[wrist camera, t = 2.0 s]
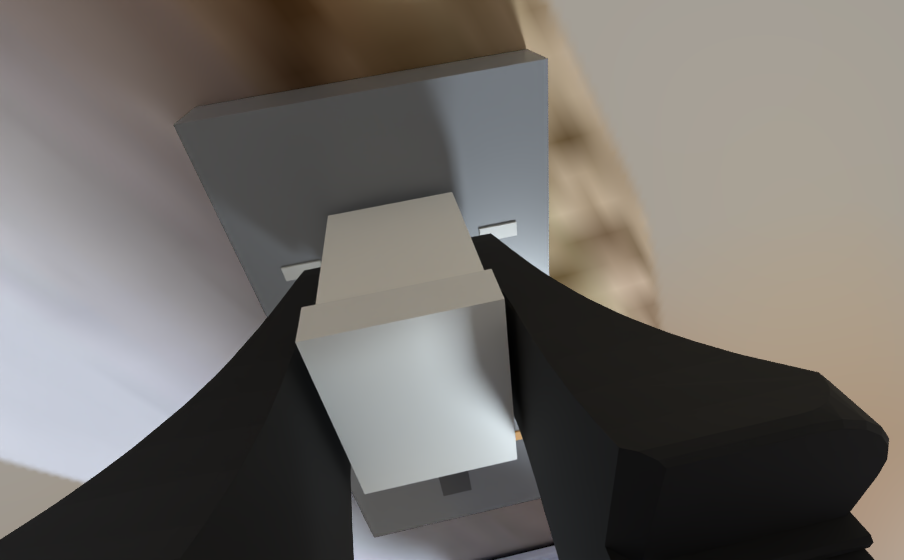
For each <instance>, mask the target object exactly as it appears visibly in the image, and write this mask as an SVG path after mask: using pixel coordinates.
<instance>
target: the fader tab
mask: <svg viewBox="0 0 904 560" xmlns="http://www.w3.org/2000/svg"><path fill="white" fill-rule="evenodd" d="M295 343H296V345H297V347H298V349H299V352H300V354H301V356H302V358H303V360H304V363H305V365H306V367H307V369H308V371H309V374H310V376H311V378H312V380H313V382H314V384H315V387H316V389H317V391H318V393H319V395H320V398H321V400H322V402H323V404H324V406H325V408H326V411H327V413H328V415H329V417H330V419H331V422H332V424H333V426H334V428H335V430H336V433H337V435H338V437H339V439H340V441H341V443H342V446H343V448H344V450H345V452H346V454H347V457H348V459H349V461H350V463H351V465H352V467H353V470H354V472H355V474H356V476H357V478H358V481H359V483H360V485H361V487H362V489H363V492H364V494H368V493H373V492H377V491H381V490H386V489H390V488H394V487H399V486H403V485H407V484H412V483H416V482H420V481H425V480H429V479H434V478H438V477H442V476H447V475H451V474H455V473H460V472H464V471H468V470H473V469H477V468H481V467H486V466H490V465H494V464H499V463H503V462H508V461H512V460H516V459H517V450H516V438H515V425H514V413H513V400H512V387H511V375H510V362H509V349H508V337H507V324H506V312H505V299H504V297H503V294H502V292H501V290H500V287H499V285H498V283H497V280H496V278H495V276H494V274H493V271H492V269H488V270H484V269H483V266H482V264H481V261H480V259H479V256H478V254H477V251H476V249H475V247H474V244H473V242H472V239H471V237H470V234H469V232H468V229H467V227H466V225H465V222H464V220H463V217H462V215H461V212H460V210H459V207H458V205H457V202H456V200H455V198H454V195H453V193H452V192H449V193H444V194H438V195H433V196H428V197H423V198H418V199H412V200H407V201H402V202H397V203H391V204H386V205H381V206H376V207H371V208H365V209H360V210H355V211H350V212H345V213H339V214H334V215H329V216H328V219H327V226H326V234H325V241H324V248H323V255H322V262H321V269H320V276H319V283H318V290H317V297H316V304H315V305H311V306H306V307H302V308H301V313H300V319H299V324H298V330H297V335H296V341H295Z"/></svg>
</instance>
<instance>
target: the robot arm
mask: <svg viewBox="0 0 904 560" xmlns="http://www.w3.org/2000/svg"><path fill="white" fill-rule="evenodd" d="M471 239H472V242H473V244H474V247H475V249H476V251H477V254H478V256H479V259H480V261H481V264H482V266H483V269H484V270H488V269H492V271H493V274H494V276H495V278H496V280H497V283H498V285H499V287H500V290H501V292H502V294H503V297H504V299H505V312H506V324H507V337H508V349H509V362H510V375H511V387H512V400H513V413H514V417H515V420H516V422H517V425H518V428H519V430H520V433H521V436H522V438H523V441H524V445H525V448H526V451H527V454H528V458H529V461H530V464H531V467H532V471H533V474H534V477H535V480H536V484H537V487H538V490H539V494H540V497H541V501H542V504H543V507H544V511H545V514H546V517H547V521H548V524H549V527H550V531H551V534H552V538H553V541H554V546H550V547H546V548H542V549H537V550H533V551H529V552H525V553H521V554H517V555H513V556H509V557H504V558H500V559H496V560H874V559H873V558H872V556H871V555H870V554H869V553H868V552H867V551H866V550H865V548H868V547H870V546H871V545H872V543H873V540H872V538H871V535H870V534H869V532H868V531H867V530H866V529H865V528H864V527H863V526H862V525H861V524H860V523H859V521H858V520H857V519H856V518H855V517H854V516H853V515H852V514H851V512H850V511H851V510H852V508H853V507H854V506H855V504H856V503H857V502H858V500H859V499H860V498H861V497H862V495H863V494H864V493H865V491H866V490H867V489H868V488H869V486H870V485H871V484H872V482H873V481H874V480H875V478H876V477H877V476H878V474H879V473H880V471H881V469H882V467H883V466H884V464H885V462H886V460H887V455H888V444H889V443H888V442H889V438H888V436H887V434H886V433H885V431H884V430H883V428H882V427H881V426H880V425H879V424H878V423H876V422H875V421H874V420H873V419H872V418H871V417H870V416H869V415H867V414H866V413H865V412H864V411H863V410H862V409H861V408H859V407H858V406H857V405H856V404H855V403H854V402H853V401H851V400H850V399H849V398H848V397H847V396H846V395H844V394H843V393H842V392H841V391H840V390H839V389H838V388H836V387H835V386H834V385H833V384H832V383H831V382H830V381H828V380H827V379H826V378H825V377H824V376H822V375H821V374H820V373H819V372H814V371H810V370H806V369H801V368H797V367H792V366H788V365H784V364H779V363H775V362H771V361H766V360H762V359H757V358H753V357H749V356H744V355H740V354H737V353H733V352H729V351H726V350H723V349H719V348H715V347H712V346H709V345H705V344H702V343H698V342H695V341H692V340H689V339H686V338H683V337H680V336H677V335H673V334H671V333H668V332H665V331H662V330H660V329H657V328H655V327H652V326H649V325H647V324H644V323H641V322H639V321H636V320H634V319H631V318H629V317H626V316H624V315H622V314H619V313H617V312H615V311H613V310H611V309H609V308H607V307H604V306H602V305H600V304H598V303H596V302H594V301H592V300H590V299H588V298H586V297H584V296H582V295H580V294H579V293H577V292H575V291H573V290H572V289H570V288H568V287H566V286H565V285H563V284H561V283H560V282H558V281H556V280H555V279H553V278H551V277H550V276H548V275H547V274H545V273H544V272H542V271H541V270H540V269H538V268H537V267H535V266H534V265H532V264H531V263H529V262H528V261H527V260H525V259H524V258H523V257H521V256H520V255H519V254H517V253H516V252H515V251H513V250H512V249H511V248H509V247H508V246H507V245H506V244H504V243H503V242H502V241H500V240H499V239H498V238H496V237H495V236H494V235H492V234H491V233H490V234H484V235H479V236H474V237H471ZM320 269H321V267H318V268H313V269H308V270H304V271H303V272H302V274H301V275H300V276H299V277H298V278H297V280H296V281H295V282H294V284H293V285H292V286H291V288H290V289H289V290H288V292H287V293H286V294H285V296H284V297H283V298H282V299H281V301H280V302H279V303H278V305H277V306H276V307H275V308H274V310H273V311H272V312H271V313H270V315H269V316H268V317H267V318H266V320H265V321H264V322H263V324H262V325H261V326H260V327H259V328H258V330H257V331H256V332H255V333H254V334H253V335H252V336H251V337H250V339H249V340H248V341H247V342H246V343H245V344H244V345H243V347H242V348H241V349H240V350H239V351H238V352H237V353H236V355H235V356H234V357H233V358H232V359H231V360H230V361H229V362H228V363H227V364H226V365H225V366H224V368H223V369H222V370H221V371H220V372H219V373H218V374H217V375H216V376H215V377H214V378H213V379H212V380H211V381H210V382H208V383H207V384H206V385H205V386H204V387H203V388H202V389H201V390H200V391H199V392H198V393H197V394H196V395H195V396H194V397H193V398H192V399H190V400H189V401H188V402H187V403H186V404H185V405H184V406H183V407H182V408H180V409H179V410H178V411H177V412H176V413H174V414H173V415H172V416H171V417H170V418H168V419H167V420H166V421H165V422H163V423H162V424H161V425H160V426H159V427H157V428H156V429H155V430H154V431H153V432H151V433H150V434H149V435H148V436H147V437H145V438H144V439H143V440H142V441H141V442H139V443H138V444H137V445H136V446H134V447H133V448H132V449H131V450H129V451H128V452H127V453H125V454H124V455H123V456H121V457H120V458H119V459H117V460H116V461H115V462H113V463H112V464H111V465H109V466H108V467H107V468H105V469H104V470H103V471H101V472H100V473H99V474H97V475H96V476H94V477H93V478H91V479H90V480H89V481H87V482H86V483H84V484H83V485H82V486H80V487H79V488H77V489H76V490H75V491H73V492H72V493H70V494H69V495H68V496H66V497H65V498H63V499H62V500H60V501H59V502H57V503H56V504H54V505H53V506H51V507H50V508H48V509H47V510H45V511H44V512H42V513H41V514H39V515H38V516H36V517H35V518H33V519H31V520H30V521H29V522H27V523H25V524H24V525H22V526H21V527H19V528H18V529H16V530H14V531H13V532H11V533H10V534H8V535H7V536H5V537H4V538H2V539H0V560H354V554H353V533H352V506H351V463H350V461H349V459H348V457H347V454H346V452H345V450H344V448H343V446H342V443H341V441H340V439H339V437H338V435H337V433H336V430H335V428H334V426H333V424H332V422H331V419H330V417H329V415H328V413H327V411H326V408H325V406H324V404H323V402H322V400H321V398H320V395H319V393H318V391H317V389H316V387H315V384H314V382H313V380H312V378H311V376H310V374H309V371H308V369H307V367H306V365H305V363H304V360H303V358H302V356H301V354H300V352H299V349H298V347H297V345H296V343H295V341H296V335H297V330H298V324H299V319H300V313H301V308H302V307H306V306H311V305H315V304H316V297H317V290H318V283H319V276H320Z"/></svg>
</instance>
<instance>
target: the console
mask: <svg viewBox="0 0 904 560" xmlns="http://www.w3.org/2000/svg"><path fill="white" fill-rule="evenodd" d="M174 127H175V129H176V131H177V133H178V135H179V137H180V139H181V142H182V144H183V146H184V148H185V150H186V152H187V154H188V156H189V158H190V160H191V162H192V164H193V166H194V168H195V170H196V172H197V174H198V176H199V179H200V181H201V183H202V185H203V187H204V189H205V191H206V193H207V195H208V197H209V199H210V201H211V203H212V205H213V207H214V209H215V211H216V213H217V216H218V218H219V220H220V222H221V224H222V226H223V228H224V230H225V232H226V234H227V236H228V238H229V240H230V242H231V244H232V246H233V248H234V251H235V253H236V255H237V257H238V259H239V261H240V263H241V265H242V267H243V269H244V271H245V273H246V275H247V277H248V279H249V281H250V283H251V285H252V288H253V290H254V292H255V294H256V296H257V298H258V300H259V302H260V304H261V306H262V308H263V310H264V312H265V314H266V316H267V317H268V316H269V315H270V313H271V312H272V311H273V310H274V308H275V307H276V306H277V305H278V303H279V302H280V301H281V299H282V298H283V297H284V296H285V294H286V293H287V292H288V290H289V289H290V288H291V286H292V285H293V284H294V282H295V281H296V280H297V278H298V277H299V276H300V275H301V274H302V272H303V271H304V270H308V269H313V268H318V267H321V262H322V255H323V248H324V241H325V234H326V226H327V219H328V216H329V215H334V214H339V213H345V212H350V211H355V210H360V209H365V208H371V207H376V206H381V205H386V204H391V203H397V202H402V201H407V200H412V199H418V198H423V197H428V196H433V195H438V194H444V193H449V192H452V193H453V195H454V198H455V200H456V202H457V205H458V207H459V210H460V212H461V215H462V217H463V220H464V222H465V225H466V227H467V229H468V232H469V234H470V237H474V236H479V235H484V234H490V233H491V234H492V235H494V236H495V237H496V238H498V239H499V240H500V241H502V242H503V243H504V244H506V245H507V246H508V247H509V248H511V249H512V250H513V251H515V252H516V253H517V254H519V255H520V256H521V257H523V258H524V259H525V260H527V261H528V262H529V263H531V264H532V265H534V266H535V267H537V268H538V269H540V270H541V271H542V272H544V273H545V274H547V275H548V276H549V188H548V59H547V58H545V57H543V56H541V55H539V54H537V53H535V52H532V51H530V50H528V49H524V50H519V51H513V52H507V53H502V54H496V55H490V56H484V57H479V58H473V59H467V60H462V61H456V62H450V63H444V64H439V65H433V66H427V67H421V68H416V69H410V70H404V71H399V72H393V73H387V74H381V75H376V76H370V77H364V78H359V79H353V80H347V81H341V82H336V83H330V84H324V85H319V86H313V87H307V88H301V89H296V90H290V91H284V92H278V93H273V94H267V95H261V96H256V97H250V98H244V99H238V100H233V101H227V102H221V103H216V104H210V105H204V106H198V107H195V108H194V109H192V110H191V111H190V112H189V113H187V114H186V115H185V116H184V117H182V118H181V119H180V120H179V121H177V122H176V123H175V124H174ZM514 425H515V438H516V450H517V459H516V460H512V461H508V462H503V463H499V464H494V465H490V466H486V467H481V468H477V469H473V470H468V471H464V472H460V473H455V474H451V475H447V476H442V477H438V478H434V479H429V480H425V481H420V482H416V483H412V484H407V485H403V486H399V487H394V488H390V489H386V490H381V491H377V492H373V493H368V494H364V492H363V489H362V487H361V485H360V483H359V481H358V478H357V476H356V474H355V472H354V470H353V467H352V465H351V491H352V493H353V495H354V497H355V499H356V501H357V503H358V506H359V508H360V510H361V512H362V514H363V516H364V518H365V520H366V522H367V524H368V526H369V528H370V530H371V532H372V534H373V536H374V537H379V536H383V535H387V534H391V533H396V532H400V531H404V530H408V529H412V528H417V527H421V526H425V525H429V524H434V523H438V522H442V521H446V520H451V519H455V518H459V517H463V516H468V515H472V514H476V513H480V512H485V511H489V510H493V509H497V508H502V507H506V506H510V505H514V504H518V503H523V502H527V501H531V500H535V499H540V498H541V497H540V494H539V490H538V487H537V484H536V480H535V477H534V474H533V471H532V467H531V464H530V461H529V458H528V454H527V451H526V448H525V445H524V441H523V438H522V436H521V433H520V430H519V428H518V425H517V422H516V420H515V417H514Z"/></svg>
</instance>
